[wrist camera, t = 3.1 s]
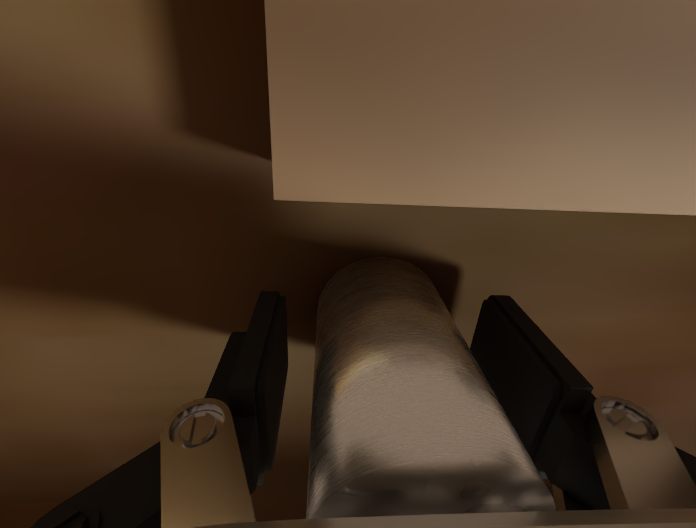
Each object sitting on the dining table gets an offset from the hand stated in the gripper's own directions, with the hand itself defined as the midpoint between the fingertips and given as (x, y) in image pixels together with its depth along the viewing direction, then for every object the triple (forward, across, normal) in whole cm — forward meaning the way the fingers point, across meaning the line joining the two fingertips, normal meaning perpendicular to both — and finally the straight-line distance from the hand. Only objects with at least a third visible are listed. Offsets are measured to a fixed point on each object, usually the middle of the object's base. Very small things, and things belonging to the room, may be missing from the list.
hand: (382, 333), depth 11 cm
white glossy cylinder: (+1, 0, 0) cm, 1 cm away
